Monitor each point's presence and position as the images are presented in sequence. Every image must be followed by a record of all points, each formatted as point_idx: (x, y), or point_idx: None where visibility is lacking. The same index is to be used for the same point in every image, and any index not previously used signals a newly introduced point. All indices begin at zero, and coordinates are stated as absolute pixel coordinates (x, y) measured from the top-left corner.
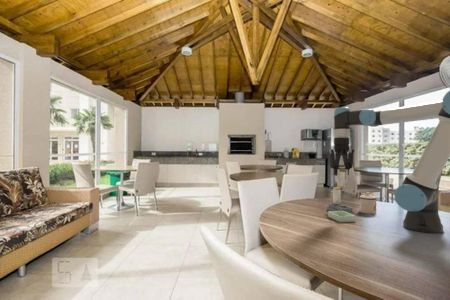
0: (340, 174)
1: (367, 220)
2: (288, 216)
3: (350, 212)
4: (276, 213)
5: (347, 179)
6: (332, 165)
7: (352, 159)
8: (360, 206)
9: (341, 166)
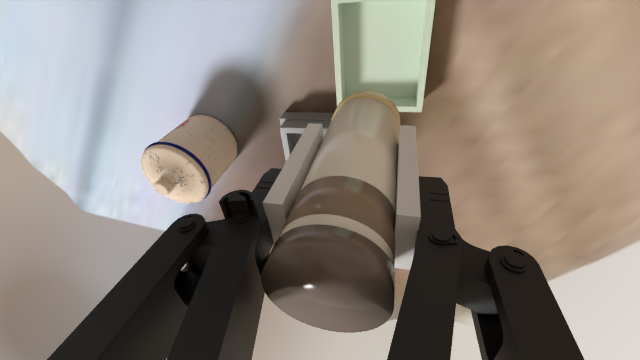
0: (382, 169)
1: (268, 11)
2: (622, 142)
3: (296, 116)
4: (632, 200)
5: (302, 134)
6: (549, 298)
7: (79, 334)
8: (227, 158)
9: (361, 242)
